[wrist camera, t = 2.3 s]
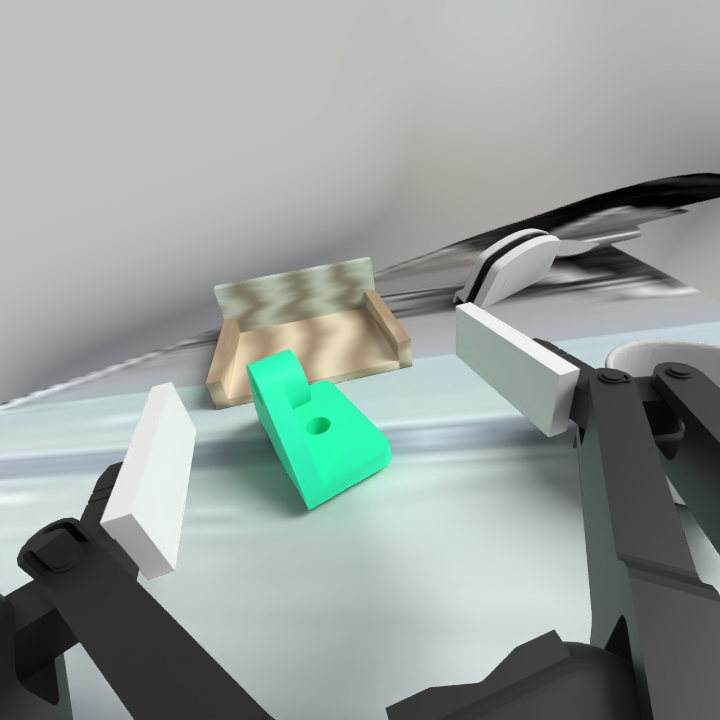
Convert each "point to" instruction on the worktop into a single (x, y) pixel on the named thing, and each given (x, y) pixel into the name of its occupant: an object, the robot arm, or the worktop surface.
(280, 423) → the camera mount
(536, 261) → the grey rounded piece
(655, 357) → the teacup
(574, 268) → the worktop surface
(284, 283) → the dock
